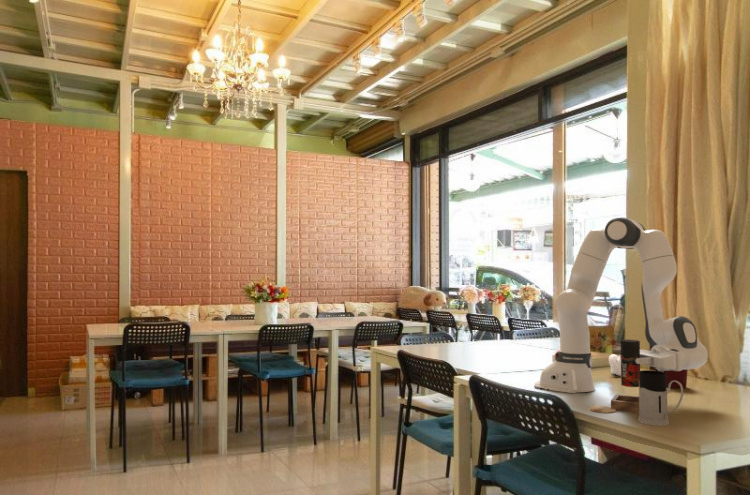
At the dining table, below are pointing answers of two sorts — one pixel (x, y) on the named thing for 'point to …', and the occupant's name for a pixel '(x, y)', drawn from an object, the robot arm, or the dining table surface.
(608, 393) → the dining table surface
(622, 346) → the deodorant
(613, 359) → the white lumpy blob
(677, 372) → the mug
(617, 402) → the holder frame
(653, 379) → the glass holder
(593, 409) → the cork coaster
